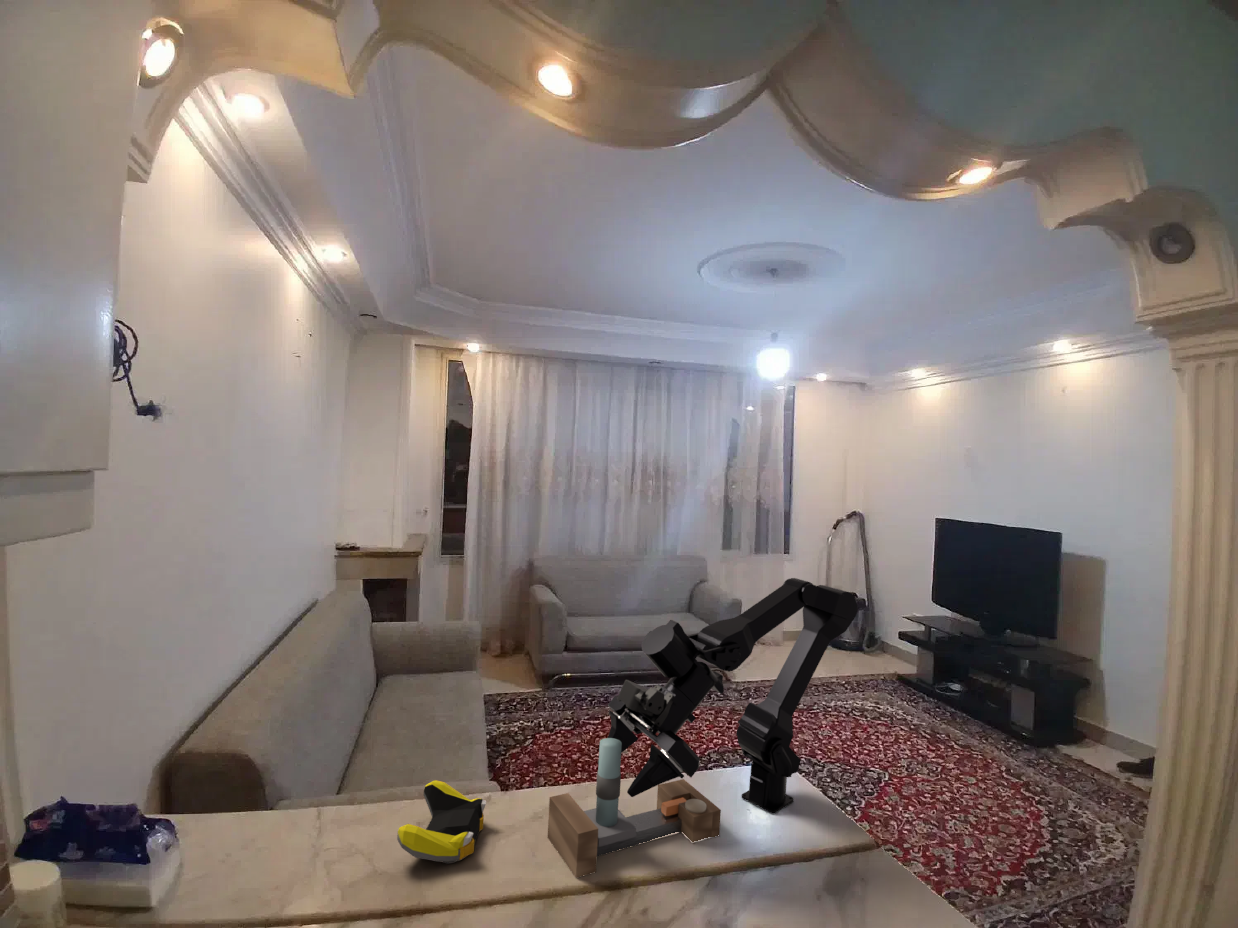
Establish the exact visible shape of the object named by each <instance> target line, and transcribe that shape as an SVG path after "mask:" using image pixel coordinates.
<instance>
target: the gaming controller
mask: <svg viewBox="0 0 1238 928" xmlns="http://www.w3.org/2000/svg"><path fill="white" fill-rule="evenodd" d="M423 797H424V800H425V803H426V805H427V807H428V810H429V813H430V816H431V819H430V821H429V822H428V823H429V824H428V825H427V827H426V829H425V828H423V827H420V826H418V825H414V824H411V823H407V824H404V825H402V826H400V827H399V828H398V830H397V837H396V841H398V843H399V846H400V848H402V849H403V850H404V851H405V852H407V853H408V854H409V855H410V856H412V857H414V858H416V859H422V860H429V861H434V862H442V863H444V864H447V865H448V864H453V863H456V862H458V861H461V860H463V859H464V858H467V857H468V856H469V855H471V854H473V853H474V852H475V851H474V850H475V844H476V840H477V838H478V836H479V833H480V832H481V831H482V830H484V818H485V817H484V815H485V814H484V810H485V808H486V804H487V800H485V799H483V798H479V797H476V798H474V799H470V798H469V797H467V796H465V795H463V794H462V793H461V792H459V791H458V790H456V789H455V788H454V787H452V786H451V785H449V784H448V783H447V782H444V781H440V780H436V779H434V780H432V781H431V782H429V783H427V784H426V785H424V788H423Z"/></svg>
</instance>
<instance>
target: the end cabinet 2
mask: <svg viewBox="0 0 1238 928" xmlns="http://www.w3.org/2000/svg"><path fill="white" fill-rule="evenodd" d="M656 793H657V795H656V809H660V808H661V806H662V803H663V802H667V801H671V800H675V799H679V798H684V799H686V800H687V801H686V802H683V803H679V808H678V817H679V818H680V819H681V820H682V823H681V832H683V833H684V834H685V835H686V836H687V837H688V838H689V839H690V840H691V841H692V842H694V841H698V840H701V839H704V838H708V837H714V838H716V837H715V836H717V837H719V836H720V830H721V829H720V828H721V812H722V810H721V808H720V807H718V806H717V805H715V804H714V803H713V802H712V801H711V800H710V799H709V798H707V797H706V796H705V795H703V793H701V792H700V791H699V790H697V788H695V787H694V786H692V785H691V784H690V782H688V781H687V780H685V779H683V778H681V779H678V780H674V781H668V782H664V783H661V784H659V785H657V792H656ZM718 835H719V836H718Z"/></svg>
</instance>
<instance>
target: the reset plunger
mask: <svg viewBox="0 0 1238 928" xmlns="http://www.w3.org/2000/svg"><path fill="white" fill-rule="evenodd" d="M686 801H687V800H686V799H684V798H679V799H675V800H671V801H667V802H663V803H662V806H661V812H662V813H663V814H664V815H665V816H670V815H673V814H677V813H678V808H679V803H683V802H686Z"/></svg>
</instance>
